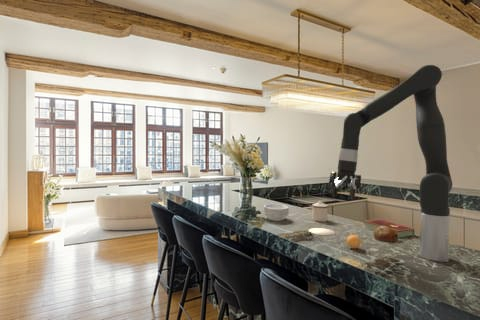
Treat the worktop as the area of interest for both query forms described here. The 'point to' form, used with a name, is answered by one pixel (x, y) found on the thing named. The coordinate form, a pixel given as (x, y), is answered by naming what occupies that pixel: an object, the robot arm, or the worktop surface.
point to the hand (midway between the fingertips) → (343, 197)
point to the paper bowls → (276, 211)
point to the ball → (353, 241)
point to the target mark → (321, 231)
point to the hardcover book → (399, 229)
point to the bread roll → (385, 234)
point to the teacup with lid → (319, 212)
